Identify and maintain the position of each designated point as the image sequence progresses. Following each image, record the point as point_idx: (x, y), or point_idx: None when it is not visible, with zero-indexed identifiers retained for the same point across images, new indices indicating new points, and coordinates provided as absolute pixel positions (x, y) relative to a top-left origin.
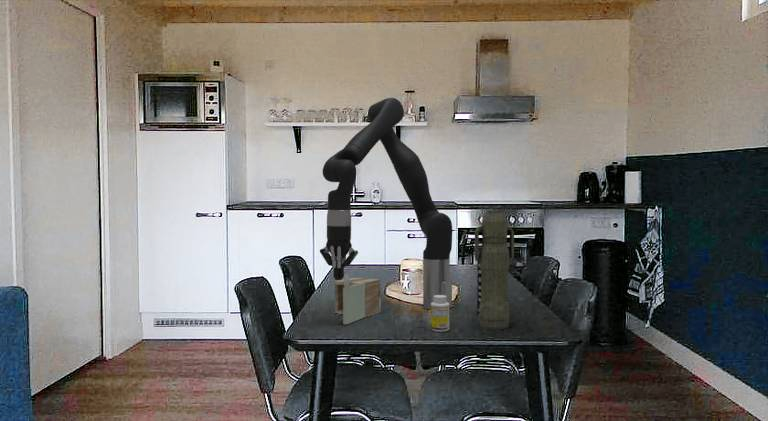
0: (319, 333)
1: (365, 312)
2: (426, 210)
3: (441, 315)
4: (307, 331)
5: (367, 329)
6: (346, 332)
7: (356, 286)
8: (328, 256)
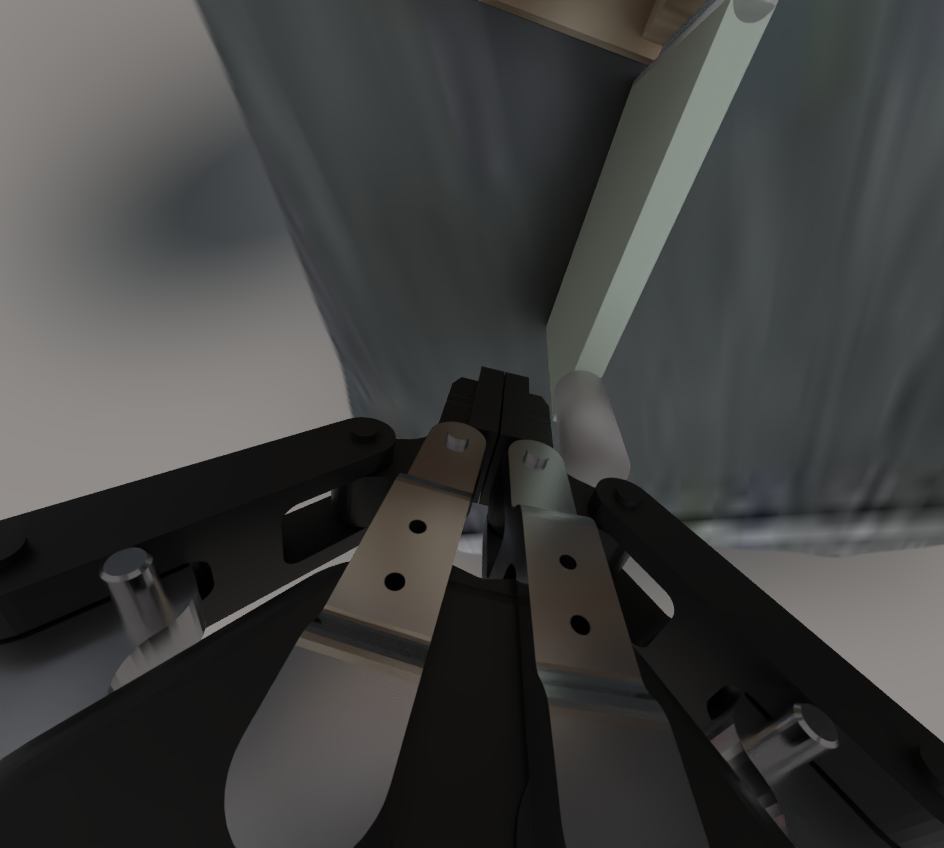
0: None
1: (664, 42)
2: None
3: None
4: None
5: (676, 388)
6: None
7: (658, 245)
8: (266, 560)
